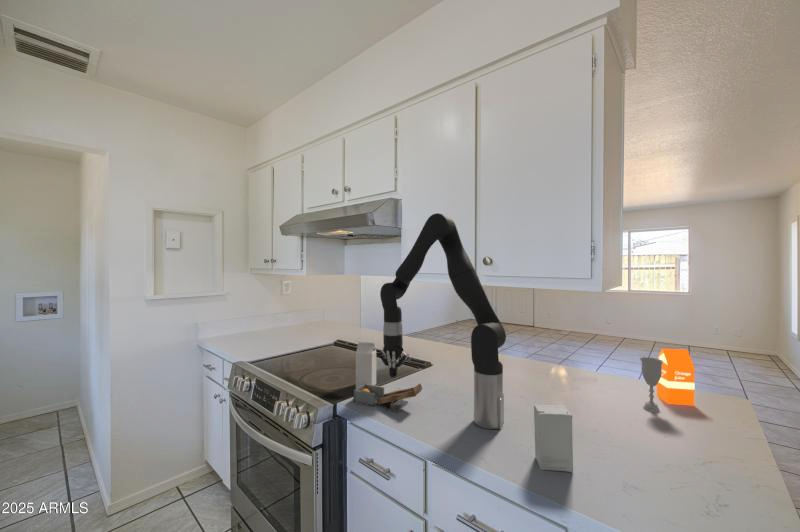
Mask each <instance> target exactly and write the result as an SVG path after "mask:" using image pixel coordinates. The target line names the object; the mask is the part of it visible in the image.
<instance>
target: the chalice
mask: <svg viewBox="0 0 800 532" xmlns="http://www.w3.org/2000/svg"><path fill="white" fill-rule="evenodd" d="M639 360H640V361H641V374H642V377H643V379H644V381H645V383H646V384H647V385H648V386H649V389H648V392H649V395H648V397H649V400H648V401H646V402H645V403H644V405H643V407H642V409H643V411H644V410H645V411H647V412H650V413H656V414H657V413H661V410H660V407H659V406H658V404H657V403H656V402H655V401H654V398H655V396H654V392H655V390H654V387H657V383H658V382H659V380H660V378H661V376H662V363H663V361H662V360H660V359H658V358H655V357H646V356H645V357H639Z"/></svg>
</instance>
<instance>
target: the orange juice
mask: <svg viewBox="0 0 800 532" xmlns="http://www.w3.org/2000/svg"><path fill="white" fill-rule="evenodd" d="M657 359H660V360H662V361H663V363H662V376H661V378H660V380H659V382H658V383H657V385H656V397H658V398H659V399H660V400H662V401H663V402H665V403H666V404H668V405H680V406H691V407H692V406H695V366H694V363H693V361H692V358H691V355H690V352H689V350H688V349H681V348H679V349H678V348H676V349H675V348H662V349H661V351H660V353H659V355H658V358H657Z"/></svg>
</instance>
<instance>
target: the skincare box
mask: <svg viewBox="0 0 800 532" xmlns="http://www.w3.org/2000/svg"><path fill="white" fill-rule="evenodd" d="M533 414H534V415H533V416H534V417H533V418H534V419H533V422H534V423H533V424H534V457H535V459H536V462H537V464H538V465H537V466H538V467H539V469H540V471H541V470H543V471H557V472H569V473H570V472H571V473H573V472H574V452H573V451H574V448H573V447H574V446H573V443H574V442H573V415H572V414H571V412H570V410H569V409H567V407H566V406H565V405H560V404H559V405H549V404H533Z"/></svg>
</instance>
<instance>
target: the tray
mask: <svg viewBox="0 0 800 532" xmlns="http://www.w3.org/2000/svg"><path fill="white" fill-rule="evenodd" d="M363 389H368V390H369V391H370V392H365V391H362V390H363ZM352 393H353V396H352V397H353V403H356V402H358V403H357V404H361V403H362V404H361V405H365V404H368V405H367V406H370V405H372V406H371V407H375V406H376V405H378V404H377V399H380V398H383V397H384V394H385V387H384V386H379V385H370V384H363V385H361V386H360V387H358V388H356V387H355V389H353V392H352ZM375 404H376V405H375ZM374 405H375V406H374Z"/></svg>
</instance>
